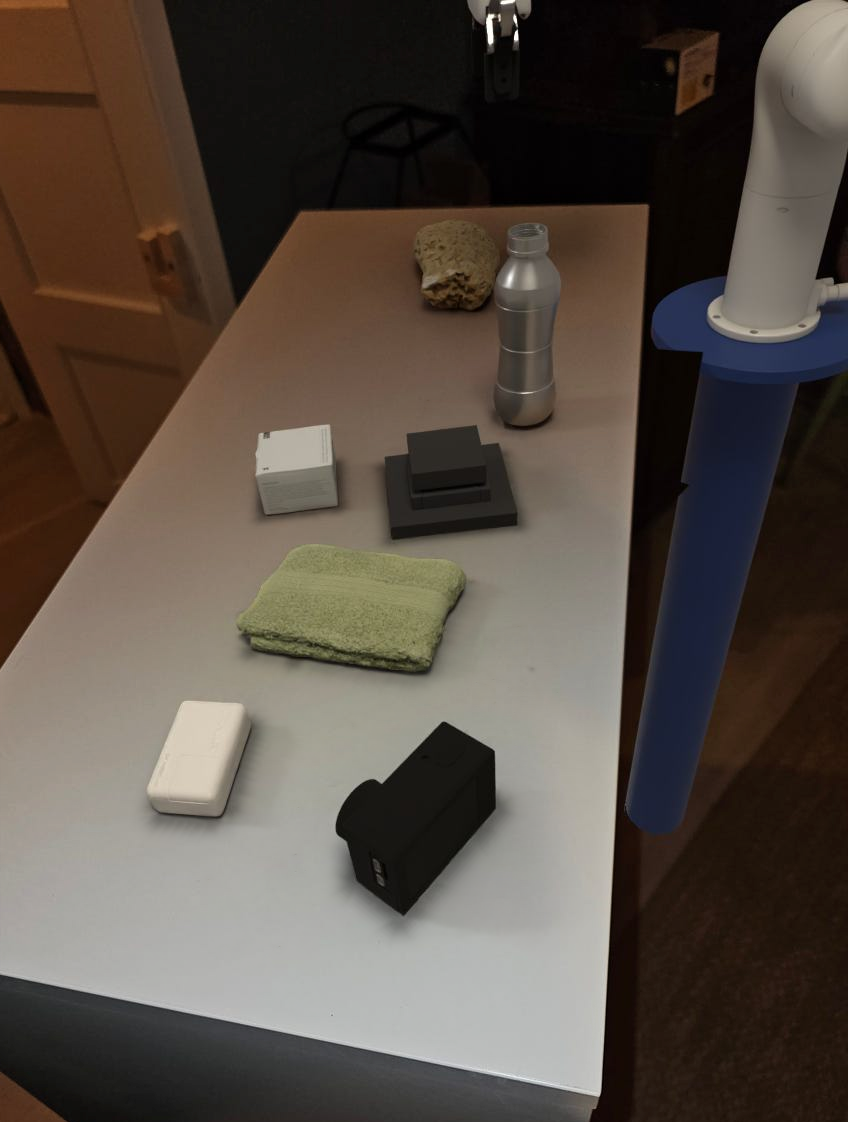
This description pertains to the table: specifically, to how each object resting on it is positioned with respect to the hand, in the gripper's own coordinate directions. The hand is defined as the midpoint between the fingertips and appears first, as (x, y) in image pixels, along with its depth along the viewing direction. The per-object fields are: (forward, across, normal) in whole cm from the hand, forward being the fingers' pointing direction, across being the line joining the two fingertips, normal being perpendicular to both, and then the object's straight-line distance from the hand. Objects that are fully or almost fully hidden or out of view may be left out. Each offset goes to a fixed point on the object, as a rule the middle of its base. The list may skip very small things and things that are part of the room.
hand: (494, 87), depth 86 cm
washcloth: (+28, -44, +19) cm, 56 cm away
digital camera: (+28, -67, +15) cm, 74 cm away
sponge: (+28, +21, +3) cm, 36 cm away
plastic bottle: (+28, -16, -1) cm, 32 cm away
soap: (+28, -59, +31) cm, 72 cm away
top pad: (+27, -28, +9) cm, 40 cm away
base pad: (+28, -28, +9) cm, 41 cm away
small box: (+28, -24, +24) cm, 44 cm away
